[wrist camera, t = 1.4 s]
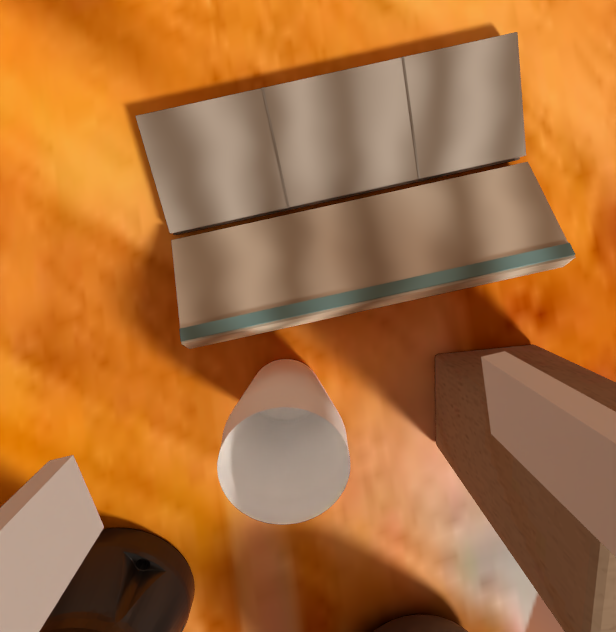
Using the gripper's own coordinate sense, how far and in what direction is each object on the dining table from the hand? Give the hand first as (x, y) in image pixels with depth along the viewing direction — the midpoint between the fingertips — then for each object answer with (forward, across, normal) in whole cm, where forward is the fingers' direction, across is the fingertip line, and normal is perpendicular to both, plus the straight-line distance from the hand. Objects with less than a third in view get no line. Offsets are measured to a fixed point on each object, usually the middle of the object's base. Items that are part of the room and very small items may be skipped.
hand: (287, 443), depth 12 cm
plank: (+20, +7, +3) cm, 21 cm away
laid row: (+23, +7, +13) cm, 27 cm away
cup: (+23, -2, -8) cm, 25 cm away
